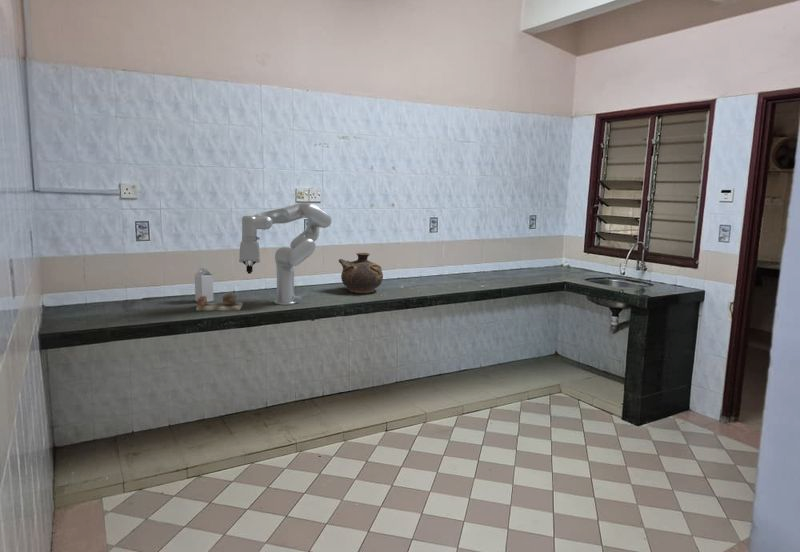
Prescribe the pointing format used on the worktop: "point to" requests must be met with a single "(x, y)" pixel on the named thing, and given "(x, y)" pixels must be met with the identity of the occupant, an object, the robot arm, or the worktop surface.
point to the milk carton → (203, 284)
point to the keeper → (229, 299)
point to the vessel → (361, 274)
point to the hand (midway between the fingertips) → (249, 273)
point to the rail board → (215, 305)
